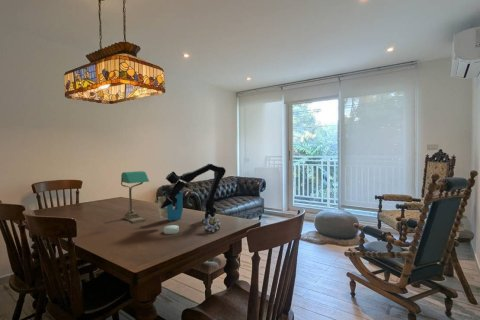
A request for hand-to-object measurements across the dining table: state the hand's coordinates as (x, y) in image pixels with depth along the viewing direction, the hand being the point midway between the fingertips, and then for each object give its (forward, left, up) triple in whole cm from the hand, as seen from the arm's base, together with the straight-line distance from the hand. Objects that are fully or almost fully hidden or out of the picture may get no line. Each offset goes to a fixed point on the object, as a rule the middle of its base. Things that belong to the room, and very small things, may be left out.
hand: (160, 207), depth 174 cm
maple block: (-1, -1, -7) cm, 7 cm away
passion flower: (-34, -2, -14) cm, 37 cm away
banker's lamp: (+30, -14, -14) cm, 36 cm away
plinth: (-11, +6, -14) cm, 18 cm away
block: (+2, -21, -14) cm, 25 cm away
